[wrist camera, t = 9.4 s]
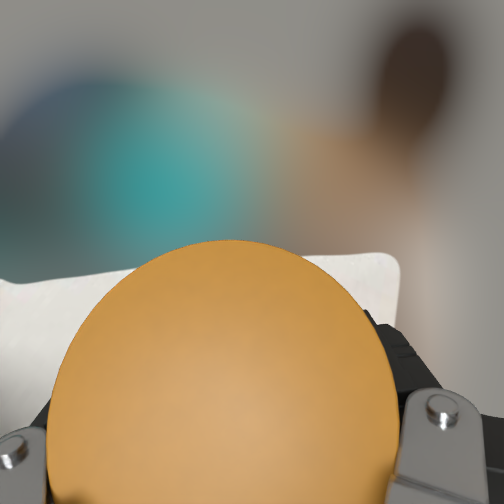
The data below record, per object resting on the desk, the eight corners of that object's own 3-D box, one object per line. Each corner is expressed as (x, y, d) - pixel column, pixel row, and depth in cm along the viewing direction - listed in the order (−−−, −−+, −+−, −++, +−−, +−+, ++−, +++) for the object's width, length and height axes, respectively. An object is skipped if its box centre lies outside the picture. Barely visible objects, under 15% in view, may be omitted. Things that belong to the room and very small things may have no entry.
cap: (141, 407, 14) (-15, 389, 7) (255, 298, 15) (229, 189, 8) (250, 558, 11) (193, 780, 4) (372, 412, 13) (478, 397, 6)
